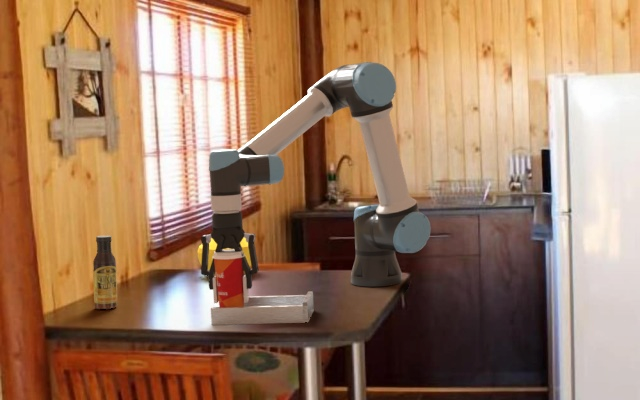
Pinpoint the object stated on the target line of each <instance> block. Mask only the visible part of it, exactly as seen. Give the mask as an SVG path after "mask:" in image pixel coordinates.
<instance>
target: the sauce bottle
mask: <svg viewBox="0 0 640 400" xmlns="http://www.w3.org/2000/svg"><path fill="white" fill-rule="evenodd" d="M95 242H96V255H95V256H94V259H93V261H92V262H93V263H92V264H93V271H92V274H93V281H92V282H93V302H94V309H96V310H100V309H106V310H111V308H113V309H116V308H117V306H118V304H117V303H118V284H117V283H118V281H117V280H118V278H117V277H118V276H117V263H116V262H117V261H116V257H115V256H114V254H113V252H112V236H111V235H97V236H95ZM115 307H116V308H115Z"/></svg>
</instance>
